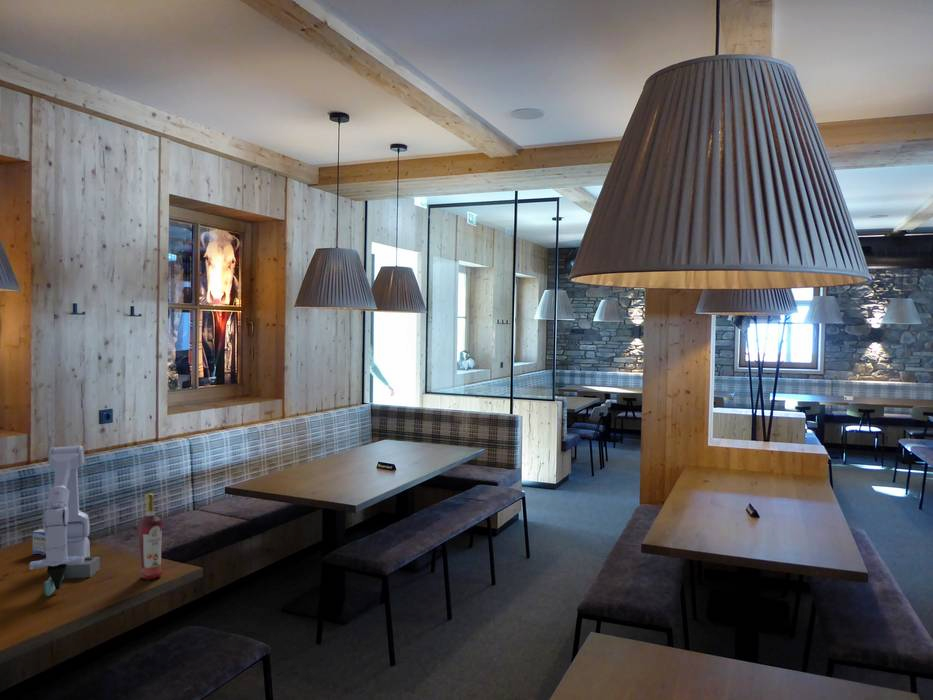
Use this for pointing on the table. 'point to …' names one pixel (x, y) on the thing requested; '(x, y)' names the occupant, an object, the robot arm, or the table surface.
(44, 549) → the medicine box
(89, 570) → the camera case
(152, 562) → the liquor
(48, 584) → the side door
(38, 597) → the table surface
